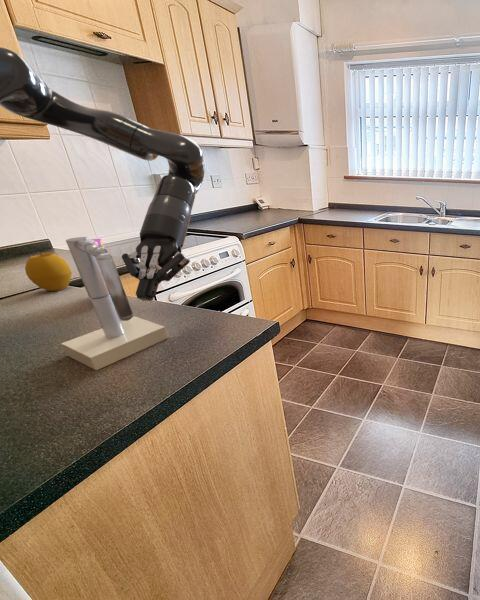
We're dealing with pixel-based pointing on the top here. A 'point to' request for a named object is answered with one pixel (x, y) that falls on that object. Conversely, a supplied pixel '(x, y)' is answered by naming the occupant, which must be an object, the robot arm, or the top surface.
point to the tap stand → (113, 337)
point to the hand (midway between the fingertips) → (143, 299)
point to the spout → (99, 274)
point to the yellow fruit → (48, 271)
